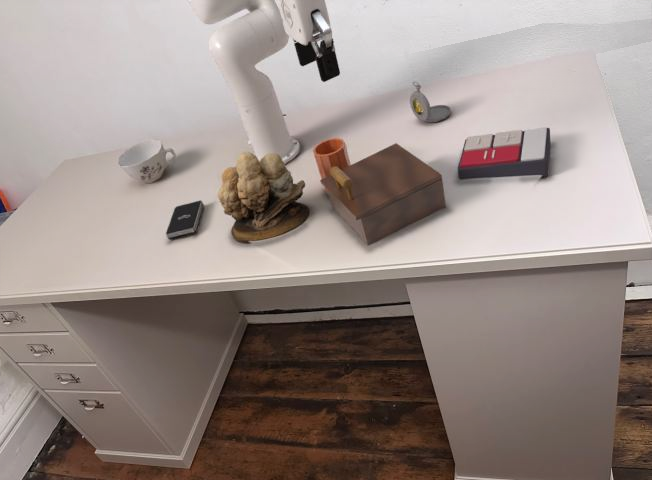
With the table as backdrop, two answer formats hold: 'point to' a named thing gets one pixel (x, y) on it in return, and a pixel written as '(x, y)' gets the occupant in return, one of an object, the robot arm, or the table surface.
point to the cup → (331, 156)
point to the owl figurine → (261, 198)
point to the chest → (395, 213)
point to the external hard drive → (185, 220)
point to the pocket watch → (427, 107)
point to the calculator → (506, 154)
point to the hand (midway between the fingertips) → (319, 70)
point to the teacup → (146, 161)
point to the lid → (378, 180)
